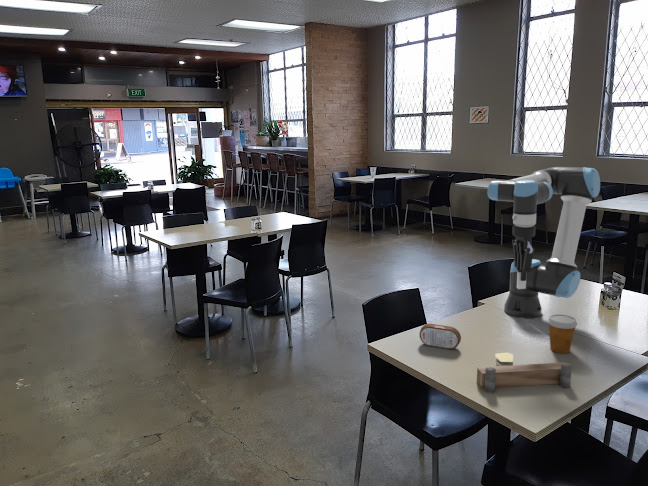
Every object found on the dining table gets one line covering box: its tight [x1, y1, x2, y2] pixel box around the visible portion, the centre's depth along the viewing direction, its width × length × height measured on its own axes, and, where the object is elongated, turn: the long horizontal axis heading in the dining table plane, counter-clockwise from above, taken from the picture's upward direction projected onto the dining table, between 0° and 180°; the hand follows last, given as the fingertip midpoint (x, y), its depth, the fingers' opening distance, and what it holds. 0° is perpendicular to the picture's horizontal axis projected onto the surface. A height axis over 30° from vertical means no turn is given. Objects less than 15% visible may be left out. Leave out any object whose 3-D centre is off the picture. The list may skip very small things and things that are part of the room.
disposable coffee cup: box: [547, 313, 578, 354], centre depth 177 cm, size 10×10×12 cm
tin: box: [418, 323, 462, 350], centre depth 183 cm, size 15×3×8 cm, turn 65°
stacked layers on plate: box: [493, 352, 514, 366], centre depth 163 cm, size 10×9×6 cm
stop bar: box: [476, 361, 573, 394], centre depth 154 cm, size 7×28×7 cm, turn 94°
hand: (521, 288), depth 179 cm, fingers closed
